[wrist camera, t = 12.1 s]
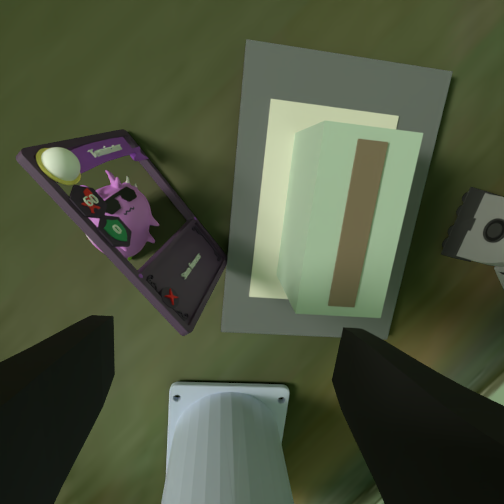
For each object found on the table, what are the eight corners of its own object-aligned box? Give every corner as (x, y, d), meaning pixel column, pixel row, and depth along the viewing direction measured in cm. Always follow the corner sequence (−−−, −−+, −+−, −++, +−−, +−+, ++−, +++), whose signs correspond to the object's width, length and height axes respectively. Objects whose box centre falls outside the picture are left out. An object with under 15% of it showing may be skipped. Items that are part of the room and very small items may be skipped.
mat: (382, 334, 21) (387, 340, 21) (221, 326, 20) (221, 332, 19) (444, 74, 17) (454, 71, 16) (245, 44, 16) (246, 38, 15)
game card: (203, 328, 13) (28, 135, 10) (122, 369, 15) (-39, 217, 12) (239, 253, 18) (133, 119, 16) (177, 289, 21) (76, 176, 18)
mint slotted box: (366, 141, 17) (424, 132, 12) (340, 279, 19) (381, 319, 14) (294, 133, 16) (326, 120, 12) (276, 275, 19) (296, 314, 14)
